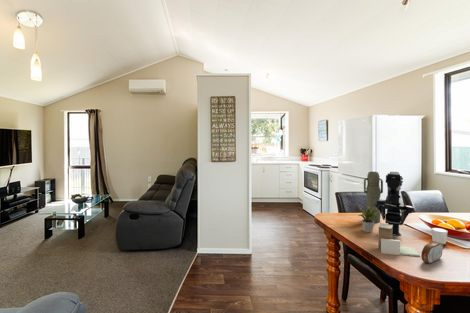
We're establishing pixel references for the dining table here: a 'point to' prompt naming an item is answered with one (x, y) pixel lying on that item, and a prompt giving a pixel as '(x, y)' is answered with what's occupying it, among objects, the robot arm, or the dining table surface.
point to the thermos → (373, 192)
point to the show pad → (408, 251)
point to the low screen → (390, 246)
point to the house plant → (368, 219)
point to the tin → (432, 252)
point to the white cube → (439, 235)
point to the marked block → (385, 232)
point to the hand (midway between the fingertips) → (392, 221)
